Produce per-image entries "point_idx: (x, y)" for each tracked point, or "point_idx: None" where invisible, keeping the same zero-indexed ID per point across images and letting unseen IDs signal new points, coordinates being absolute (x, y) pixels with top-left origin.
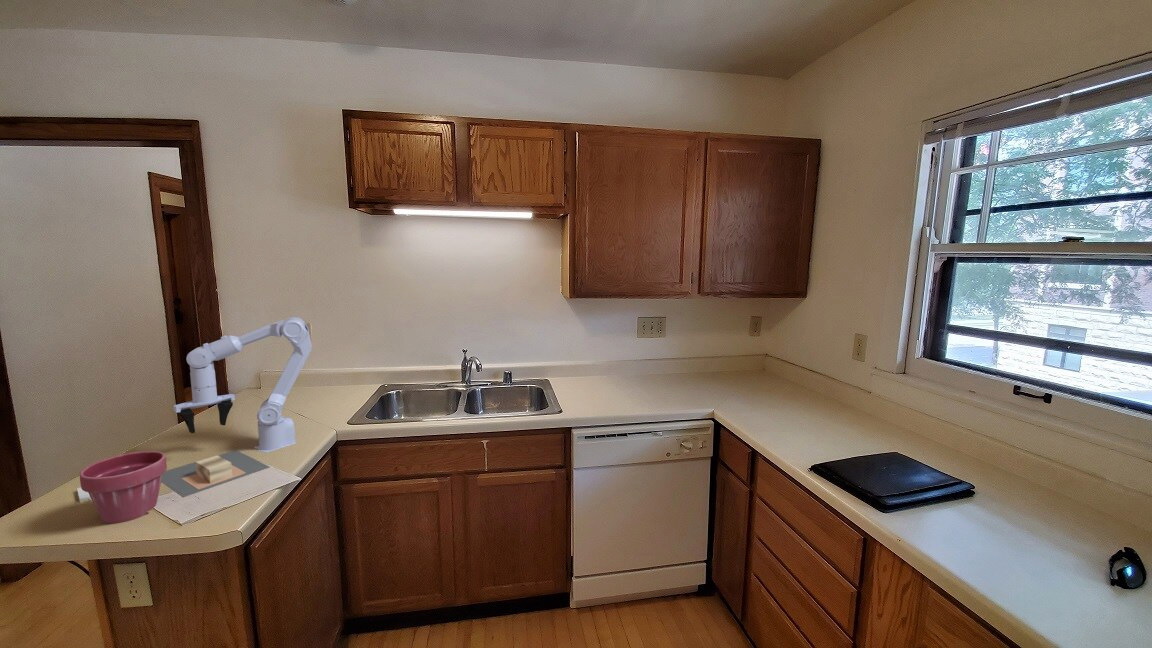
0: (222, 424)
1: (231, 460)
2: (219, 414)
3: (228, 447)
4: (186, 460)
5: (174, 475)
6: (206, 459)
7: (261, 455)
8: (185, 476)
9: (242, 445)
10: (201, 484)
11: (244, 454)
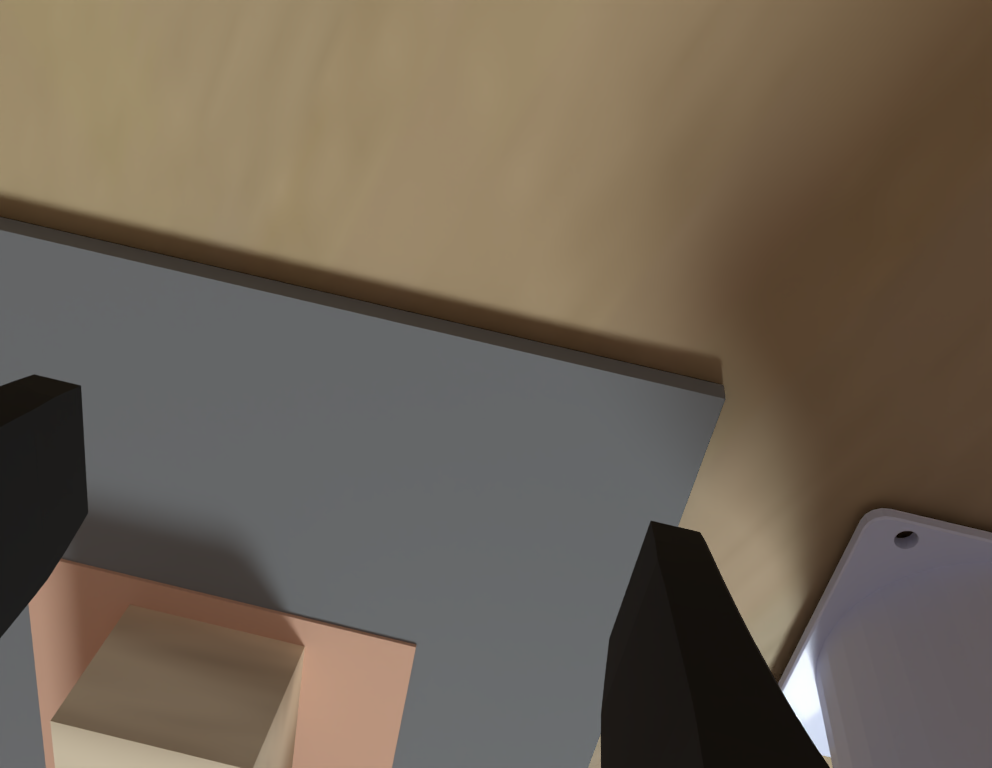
0: (611, 643)
1: (477, 605)
2: (686, 712)
3: (830, 120)
4: (264, 32)
5: None
6: (140, 764)
7: None
8: None
9: (952, 250)
10: None
11: None
